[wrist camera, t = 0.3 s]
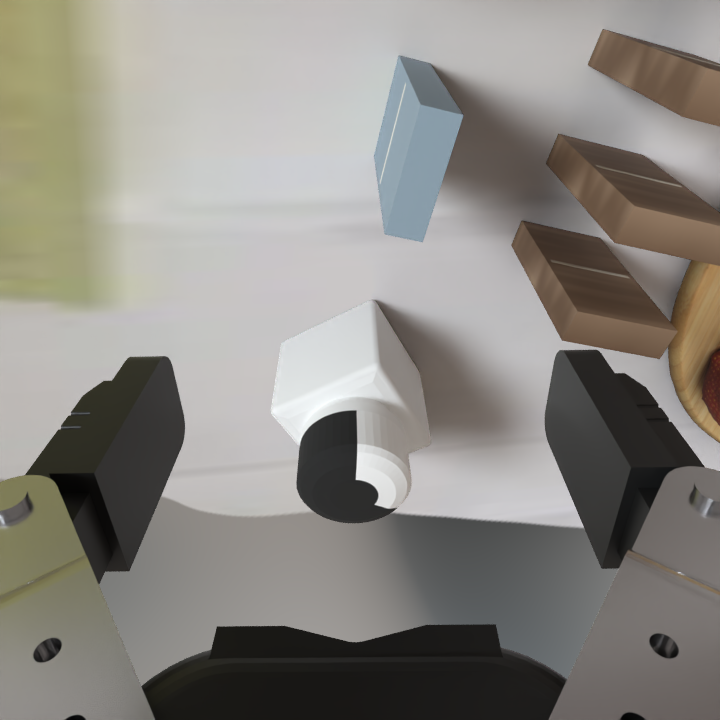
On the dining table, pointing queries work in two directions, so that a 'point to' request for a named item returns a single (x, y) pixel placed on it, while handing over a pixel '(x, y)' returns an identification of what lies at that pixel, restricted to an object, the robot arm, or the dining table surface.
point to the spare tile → (414, 148)
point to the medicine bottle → (351, 414)
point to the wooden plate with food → (698, 346)
